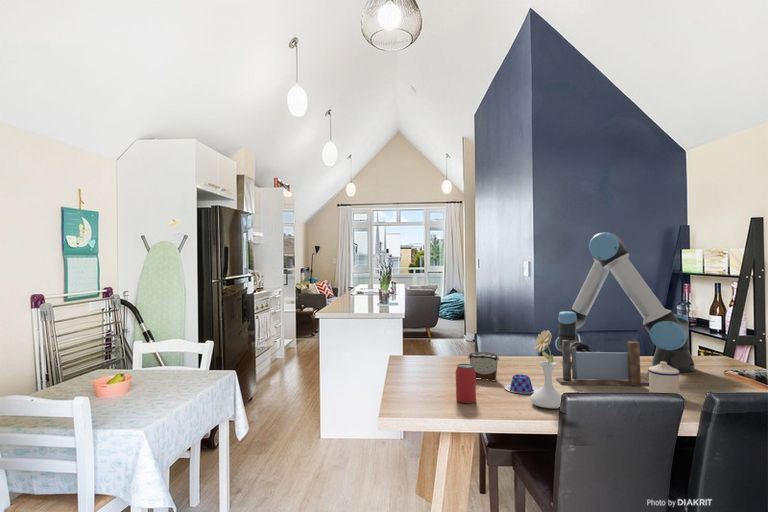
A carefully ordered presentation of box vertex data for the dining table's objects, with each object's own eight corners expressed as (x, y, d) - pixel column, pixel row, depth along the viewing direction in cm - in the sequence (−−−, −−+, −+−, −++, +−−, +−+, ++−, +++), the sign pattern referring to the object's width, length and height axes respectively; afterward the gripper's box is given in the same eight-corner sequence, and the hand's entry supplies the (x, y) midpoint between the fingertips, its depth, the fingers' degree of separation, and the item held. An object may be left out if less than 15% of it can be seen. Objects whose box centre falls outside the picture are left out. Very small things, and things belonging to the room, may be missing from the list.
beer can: (454, 398, 146) (453, 363, 147) (472, 397, 147) (472, 362, 147) (459, 404, 140) (458, 368, 140) (478, 403, 140) (477, 367, 141)
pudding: (500, 386, 161) (499, 372, 161) (531, 385, 161) (530, 371, 161) (510, 396, 149) (510, 381, 149) (544, 394, 149) (543, 380, 149)
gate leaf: (631, 378, 161) (630, 347, 161) (632, 380, 159) (632, 348, 159) (571, 377, 163) (571, 346, 164) (573, 379, 162) (572, 347, 162)
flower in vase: (529, 398, 144) (527, 325, 145) (565, 401, 141) (563, 326, 142) (531, 412, 132) (529, 331, 132) (570, 415, 129) (568, 332, 129)
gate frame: (642, 381, 163) (641, 339, 163) (652, 386, 156) (650, 342, 156) (556, 380, 166) (555, 339, 166) (561, 385, 159) (560, 342, 159)
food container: (502, 377, 171) (501, 352, 172) (499, 381, 166) (499, 355, 166) (472, 374, 177) (471, 350, 177) (468, 378, 171) (467, 353, 171)
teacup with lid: (687, 399, 141) (686, 364, 141) (662, 401, 139) (661, 365, 140) (659, 389, 152) (658, 356, 153) (636, 390, 151) (635, 357, 151)
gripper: (592, 358, 186) (626, 373, 162) (563, 359, 185) (593, 374, 161) (592, 341, 186) (625, 354, 162) (563, 342, 185) (592, 354, 161)
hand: (609, 364), depth 162 cm, fingers closed
